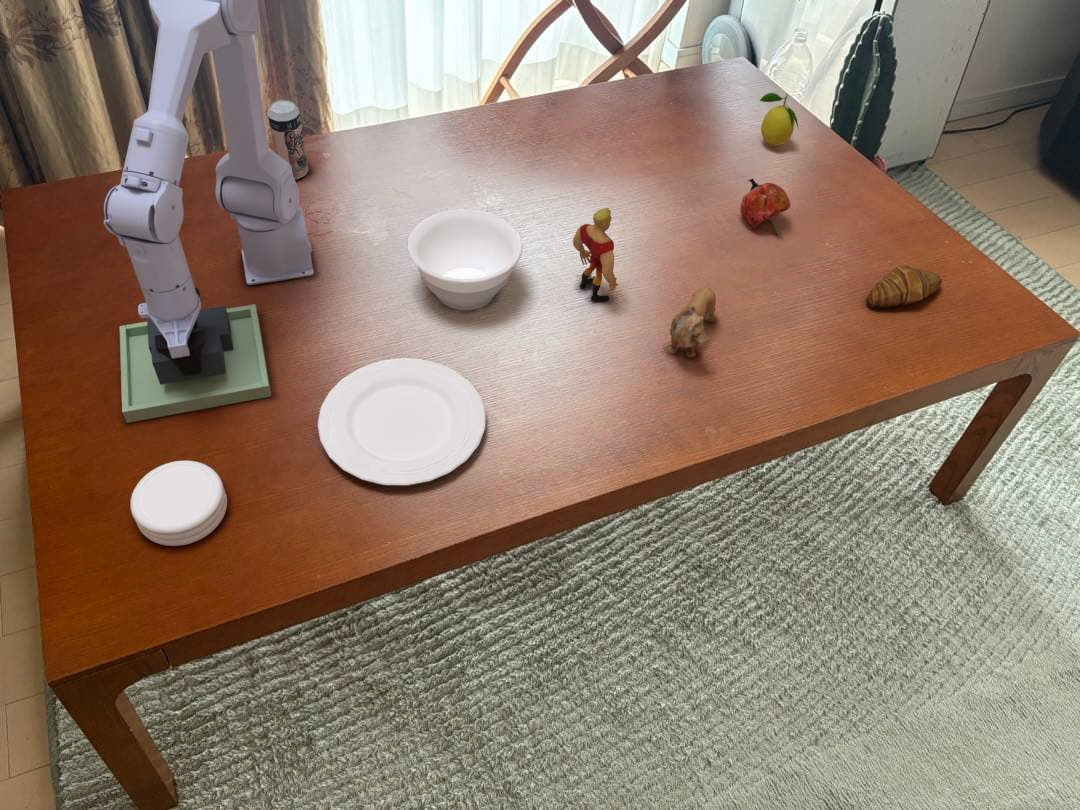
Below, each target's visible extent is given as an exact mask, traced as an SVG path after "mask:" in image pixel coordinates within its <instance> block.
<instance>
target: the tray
mask: <svg viewBox="0 0 1080 810" xmlns="http://www.w3.org/2000/svg"><path fill="white" fill-rule="evenodd" d="M226 310H227V314H228V318H229V322H230V328H231V335H232V343H233V350H229V351H223V354H224V362H225V370H226V373H224V374H219V375H213V376H207V377H202V378H196V379H190V380H185V381H179V382H173V383H168V384H162V385H160V383H159V380H158V377H157V375H156V372H155V369H154V367H153V364H152V355H151V352H150V350H149V345H148V327H147V321H143V322H135V323H131V324H126V325H125V324H124V325H119V352H120V353H119V354H120V389H121V412H122V416H123V417H124V420H125V422H126V423H127V424H129V423H135V422H140V421H146V420H150V419H151V420H152V419H157V418H161V417H168V416H172V415H173V416H174V415H177V414H183V413H188V412H189V413H190V412H194V411H200V410H205V409H211V408H215V407H221V406H226V405H232V404H237V403H243V402H248V401H254V400H260V399H265V398H270V397H272V391H271V385H270V379H269V378H270V377H269V373H268V367H267V361H266V354H265V350H264V344H263V337H262V331H261V325H260V320H259V319H260V318H259V313H258V310H257V305H256V304H249V305H242V306H236V307H235V306H234V307H230V308H226Z"/></svg>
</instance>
